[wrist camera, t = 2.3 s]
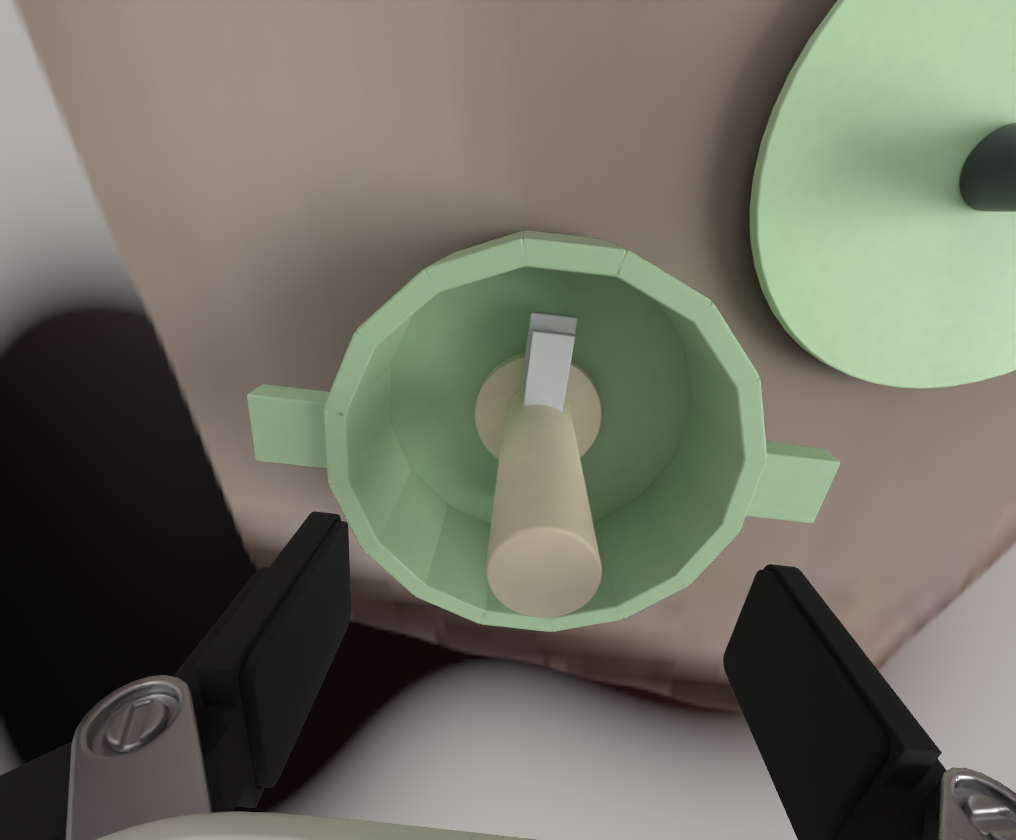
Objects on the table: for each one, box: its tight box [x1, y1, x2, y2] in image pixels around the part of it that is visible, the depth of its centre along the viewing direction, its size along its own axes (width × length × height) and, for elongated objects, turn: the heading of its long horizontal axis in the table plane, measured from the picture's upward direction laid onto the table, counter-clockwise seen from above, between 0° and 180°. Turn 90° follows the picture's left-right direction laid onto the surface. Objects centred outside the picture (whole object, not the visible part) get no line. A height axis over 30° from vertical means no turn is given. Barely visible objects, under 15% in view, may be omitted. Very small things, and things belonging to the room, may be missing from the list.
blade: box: [475, 311, 602, 618], centre depth 15 cm, size 8×5×10 cm, turn 174°
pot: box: [247, 230, 840, 632], centre depth 17 cm, size 13×19×6 cm
